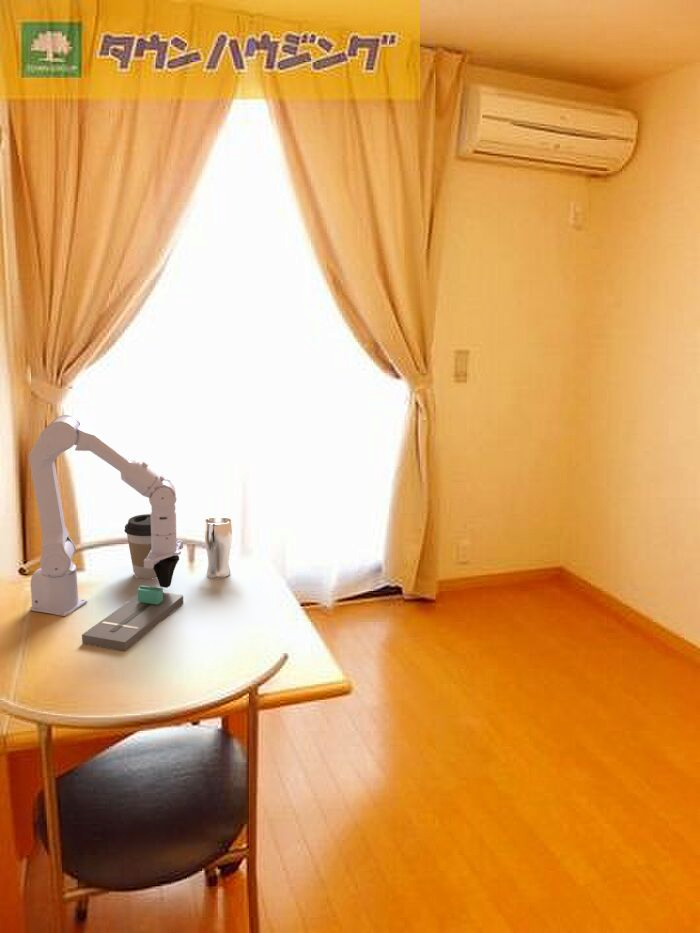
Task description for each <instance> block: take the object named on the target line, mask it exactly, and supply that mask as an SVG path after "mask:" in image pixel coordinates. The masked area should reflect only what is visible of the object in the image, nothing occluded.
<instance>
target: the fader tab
mask: <svg viewBox="0 0 700 933" xmlns="http://www.w3.org/2000/svg"><path fill="white" fill-rule="evenodd" d="M163 588H164V587H156V586H149V585H140V586H139V588H138V589H137V595H138V602H144V603H150V604H156V605H158V604H159V603H161V602H162V601H163V592H164V589H163Z"/></svg>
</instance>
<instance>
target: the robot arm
mask: <svg viewBox="0 0 700 933" xmlns="http://www.w3.org/2000/svg"><path fill="white" fill-rule="evenodd" d="M73 446H76V447H75V449H74V451H76V452H77V451H78V452H80V451H82V452H83V451H84V452H86V451H88V452H91V453H92V454H94V455H95V456H97V457H98V458H100V459H101V460H102V461H104V462H105V463H107V464H108V465H110V466H111V467H113V468H114V469H116V470H117V471H119V472H120V478H121V479H120V480H122V481H123V482H124V483H125V484H126V485H128V486H129V487H131V488H132V489H133V490H135V491H136V492H138V494H140V495H141V496H143V497H145V498H146V497H147V498H148V501H149V504H150V506H151V512H150V514H151V551H150V553H149V554H148V556H147V558H146V559H144V568H149V569H152V568H153V569H154V571H155V573H156V576H157V578H156V579H157V582H158V584H159V588H165V589H168V588H170V586H171V584H172V581H173V575H174V571H175V569H176V567H177V564H178V563H179V560H180V555H181V554H182V551H181V550H183V549H184V540H179V539H177V512H176V502H177V495H176V487H175V485H174V484H173V483H172V482H171V480H170V479H167V478H165V477H164V475H159V474H157V473H156V472H155V471H153V470H152V469H151V468H149V464H148V463H147V462H146V461H145V460H143V461H142V462H141V461H140V460H139V459H133V460H132V459H129V458H127V457H126V456H125V455H124V454H123V453H121V452H120V451H119V450H118V449H117V448H115V447H114V446H113V445H112V444H110V443H109V442H108V441H107V440H105V439H104V437H102V436H101V435H99V434H98V433H97V432H96V431H95V430H93V429H92V428H91V427H89V425H87V424H85V423H84V422H80V421H79V420H78V419H77V418H76V417H74V416H73V415H68V414H63V415H60V416H57V417H56V418H55V419H54V420H52V421H51V422H50V423H49V424H48V425H47V426H46V427H45V428H44V429H43V430H41V432H40V433H39V436H38V438H37V439H36V442H35V443H34V445H33V446H32V449H31V451H30V453H29V455H28V461H29V467H30V471H31V476H32V478H31V479H32V483H33V488H34V494H35V500H36V505H37V510H38V515H39V522H40V528H41V533H42V535H41V536H42V538H41V550H42V553H41V557H40V559H39V566H40V567H39V568H37V569H36V570H35V571H34V573H32V575H31V580H30V593H31V595H30V596H31V605H32V606H31V607H29V611H31V612H32V611H33V612H38V613H45V614H51V615H56V616H61V617H62V616H63V617H65V616H67V615H69V614H71V613H73V611H75V610H77V609H78V608H80V607H82V606H83V605H86V603H87V600H86V599H82V598H79V594H78V592H79V591H78V574H77V566H76V564H75V563H74V562H73V558H74V556H75V555H76V552H77V551H76V550H77V549H76V545H75V542H73V540H72V539H71V537H70V533H69V530H68V528H67V526H66V521H65V520H66V519H65V514H64V509H63V503H62V497H61V492H60V486H59V481H58V480H59V479H58V473H57V468H56V462H55V461H56V459H57V458H58V457H59V456H60V455H61V454H62V453H64V452H66V451H68V450H70V449H71V448H72V447H73Z"/></svg>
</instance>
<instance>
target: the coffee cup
mask: <svg viewBox="0 0 700 933" xmlns="http://www.w3.org/2000/svg"><path fill="white" fill-rule="evenodd" d="M124 532H125V534H126V537H127V542H128V547H129V548H128V549H129V554H130V560H131V564H132V570H133V574H134V576H135V578H137V579H140V580H152V578H153V579H157V578H156V577H157V576H156V573H155V571H154V569H153V568H152V569H149V568H144V559H146V558H147V556H148V554H149V553H150V551H151V513H146V514H144V513H143V514H139V515H135V516H131V518H129V519H128V521H127V523H126V524H125V525H124Z"/></svg>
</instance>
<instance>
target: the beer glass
mask: <svg viewBox="0 0 700 933" xmlns="http://www.w3.org/2000/svg"><path fill="white" fill-rule="evenodd" d="M204 521H205V522H204V523H205V525H204V544H205V549H206V553H207V554H206V555H207V559H208V560H207V562H208V563H207V564H208V565H207V569H206V570H207V571H206V576H207V575H208V576H210V577H209V578H211V577H212V578H211V579H217V578H218V579H223V578H222V577H225V578H227V577H226V576H228V575H229V574H230V575H231V569H230V563H229V562H230V561H229V560H230V554H231V553H230V552H231V549H232V542H233V541H232V540H233V533H232V532H233V530H232V529H233V527H232V519H231V518H230V517H227V516H222V515H221V516H211V517H207V518H206V519H205V520H204ZM230 575H229V576H230ZM208 576H207V577H208ZM229 576H228V577H229Z"/></svg>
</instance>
